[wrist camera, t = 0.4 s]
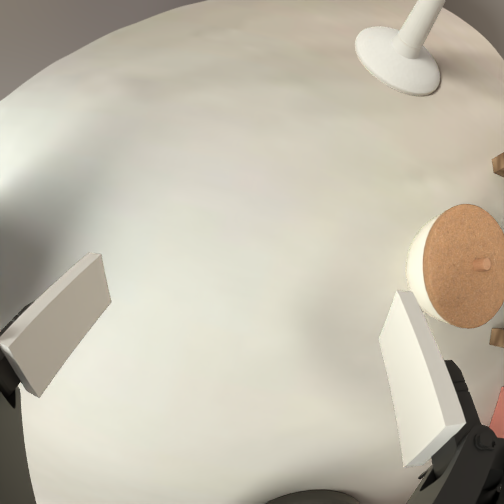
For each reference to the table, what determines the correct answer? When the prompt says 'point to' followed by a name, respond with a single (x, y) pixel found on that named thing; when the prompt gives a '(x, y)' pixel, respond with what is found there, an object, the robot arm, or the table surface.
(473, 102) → the table surface
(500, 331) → the wooden frame with rod
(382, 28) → the candlestick
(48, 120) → the table surface
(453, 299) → the lidded jar
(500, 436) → the salmon red channel block
